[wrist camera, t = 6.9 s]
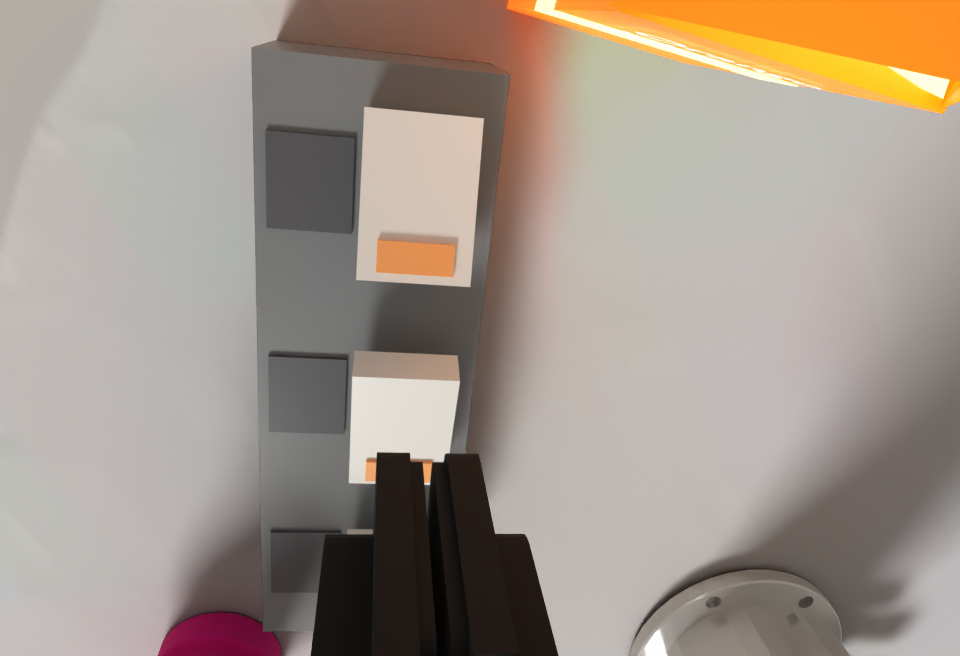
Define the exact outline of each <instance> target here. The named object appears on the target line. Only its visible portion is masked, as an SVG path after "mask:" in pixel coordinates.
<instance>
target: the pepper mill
mask: <svg viewBox="0 0 960 656" xmlns="http://www.w3.org/2000/svg"><path fill="white" fill-rule="evenodd" d="M158 656H282V654H281V648H280V645H279V642H278V641H277V639H276V637H275V636H274V635H273V634H272V633H271V632H263V624H261V623H259V622H257V621H256V620H254V619H252V618H249V617H246V616H243V615H239V614H235V613H223V612H218V613H207V614H201V615H198V616H195V617H192V618H190V619H187V620H185V621H183V622H182V623H180V624H179V625H177V626H176V627H175V628H174V629H172V630H171V631H170V632H169V633H168V635H167V636H166V638H165V639H164V641H163V643H162V645H161V648H160V651H159V654H158Z"/></svg>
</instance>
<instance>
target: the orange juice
mask: <svg viewBox="0 0 960 656" xmlns="http://www.w3.org/2000/svg"><path fill="white" fill-rule="evenodd" d="M507 9H510V10H513V11H516V12H520V13H523V14H526V15H530V16H533V17H536V18H539V19H543V20H546V21H549V22H552V23H556V24H559V25H562V26H566V27H569V28H572V29H575V30H579V31H582V32H585V33H589V34H592V35H595V36H598V37H602V38H605V39H608V40H611V41H615V42H618V43H621V44H625V45H628V46H631V47H634V48H638V49H641V50H644V51H648V52H651V53H654V54H657V55H661V56H664V57H667V58H670V59H674V60H677V61H680V62H684V63H687V64H692V65H698V66H703V67H708V68H713V69H718V70H723V71H728V72H733V73H738V74H743V75H746V76H750V77H753V78H756V79H761V80H766V81H771V82H776V83H781V84H786V85H791V86H796V87H798V85H800V86H805V87H810V88H815V89H820V90H825V91H830V92H835V93H840V94H846V95H851V96H856V97H861V98H866V99H871V100H876V101H881V102H886V103H891V104H897V105H902V106H907V107H912V108H917V109H922V110H927V111H932V112H937V113H942V114H944V112H945V110H946V108H947V106H949V105H952V104H954V103H957V102H959V101H960V0H509V1H508V5H507Z"/></svg>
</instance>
